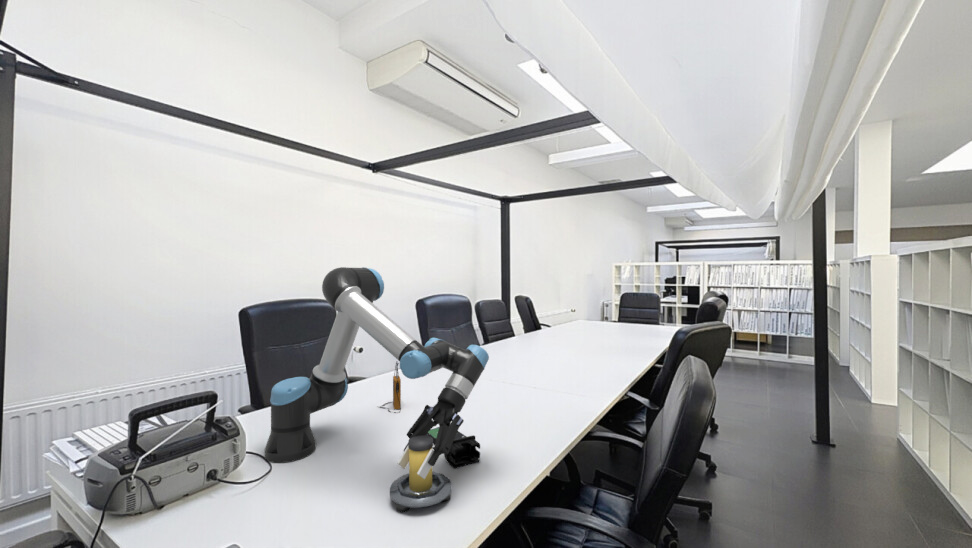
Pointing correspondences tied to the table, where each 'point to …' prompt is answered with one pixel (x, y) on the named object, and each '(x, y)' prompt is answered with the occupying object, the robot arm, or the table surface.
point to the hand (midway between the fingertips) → (410, 471)
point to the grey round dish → (420, 493)
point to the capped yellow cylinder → (419, 462)
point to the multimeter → (396, 391)
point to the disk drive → (434, 433)
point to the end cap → (463, 452)
